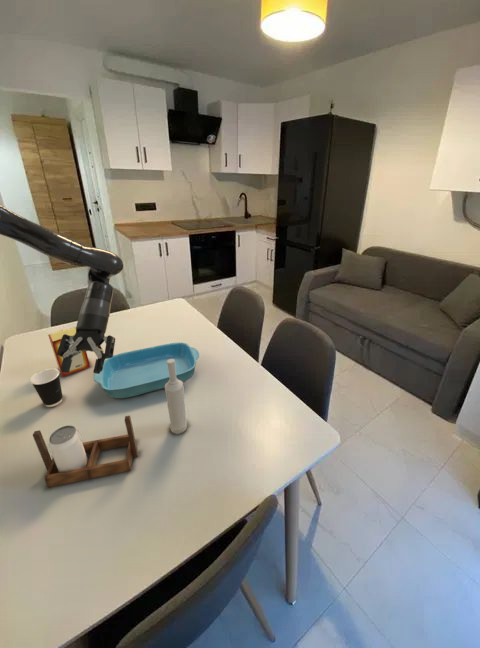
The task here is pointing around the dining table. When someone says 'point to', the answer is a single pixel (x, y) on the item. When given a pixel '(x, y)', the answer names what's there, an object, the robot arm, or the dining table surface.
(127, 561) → the dining table surface
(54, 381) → the dixie cup
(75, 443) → the can
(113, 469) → the frame
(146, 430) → the dining table surface
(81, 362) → the baking soda box
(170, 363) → the bottle
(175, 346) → the casserole dish
